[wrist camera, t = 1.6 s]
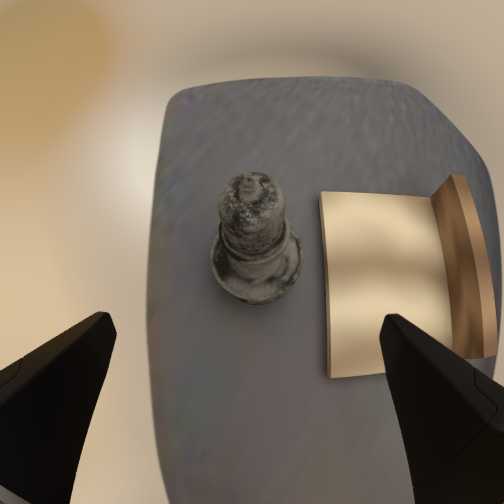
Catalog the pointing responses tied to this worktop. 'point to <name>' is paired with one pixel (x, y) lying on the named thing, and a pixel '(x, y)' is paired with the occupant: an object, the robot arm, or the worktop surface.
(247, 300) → the grey tall rounded piece
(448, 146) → the worktop surface
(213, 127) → the worktop surface
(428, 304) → the board
